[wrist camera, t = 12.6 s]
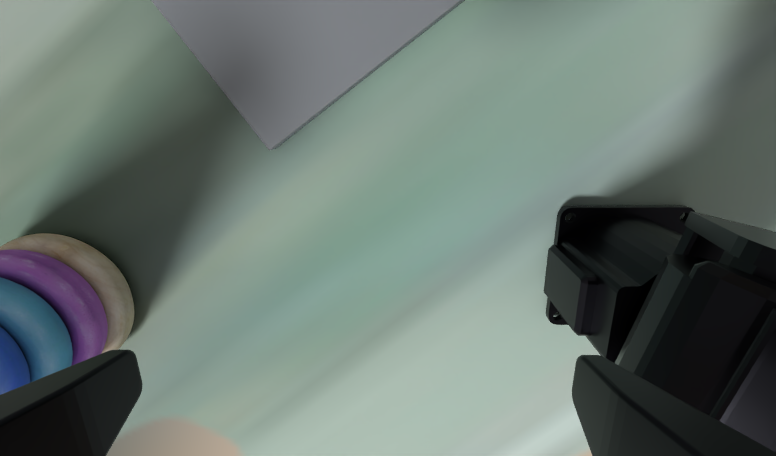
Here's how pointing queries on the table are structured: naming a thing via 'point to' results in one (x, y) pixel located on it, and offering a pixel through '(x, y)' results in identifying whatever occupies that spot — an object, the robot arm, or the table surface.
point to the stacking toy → (57, 307)
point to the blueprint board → (295, 50)
